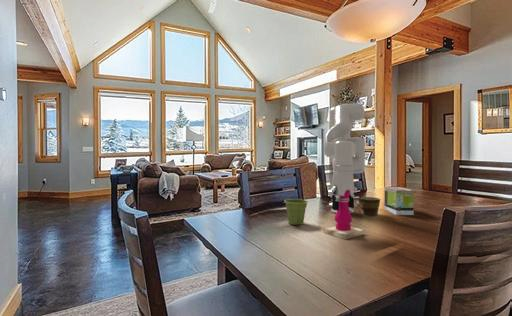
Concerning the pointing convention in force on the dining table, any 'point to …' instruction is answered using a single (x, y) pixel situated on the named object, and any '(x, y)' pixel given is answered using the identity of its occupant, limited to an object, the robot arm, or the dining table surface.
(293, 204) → the plant pot
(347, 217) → the pepper mill
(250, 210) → the dining table surface
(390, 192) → the tea box
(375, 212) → the ceramic cup
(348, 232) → the maple base
